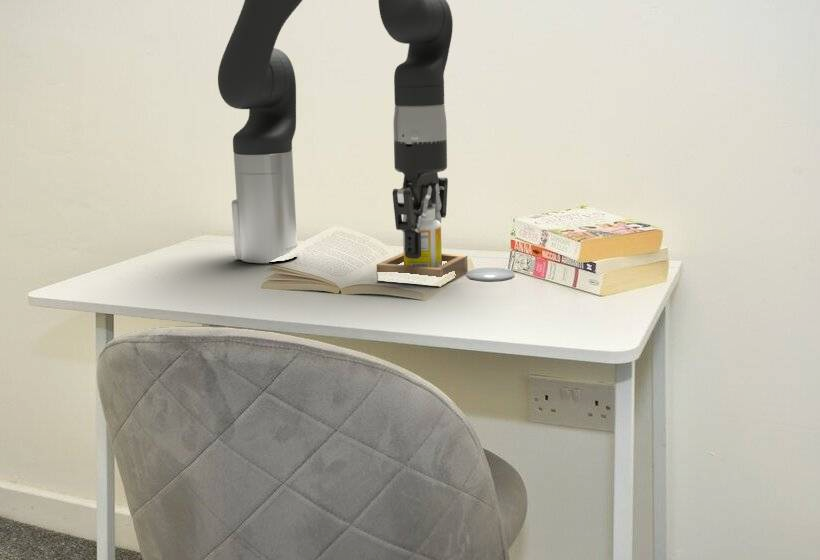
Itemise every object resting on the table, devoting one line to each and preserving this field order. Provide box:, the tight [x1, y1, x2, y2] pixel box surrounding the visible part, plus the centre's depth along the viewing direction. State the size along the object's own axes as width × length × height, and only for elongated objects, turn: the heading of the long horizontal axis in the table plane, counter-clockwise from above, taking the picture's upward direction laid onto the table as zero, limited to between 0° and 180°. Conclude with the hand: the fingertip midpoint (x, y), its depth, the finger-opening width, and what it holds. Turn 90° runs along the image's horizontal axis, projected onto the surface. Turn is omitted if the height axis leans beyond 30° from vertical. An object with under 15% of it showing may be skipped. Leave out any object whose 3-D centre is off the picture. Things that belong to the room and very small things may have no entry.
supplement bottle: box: [402, 207, 443, 268], centre depth 139 cm, size 6×6×10 cm
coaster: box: [465, 267, 515, 282], centre depth 140 cm, size 7×7×1 cm
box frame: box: [376, 251, 469, 279], centre depth 140 cm, size 10×10×2 cm
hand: (422, 253), depth 139 cm, fingers open, 5 cm apart
